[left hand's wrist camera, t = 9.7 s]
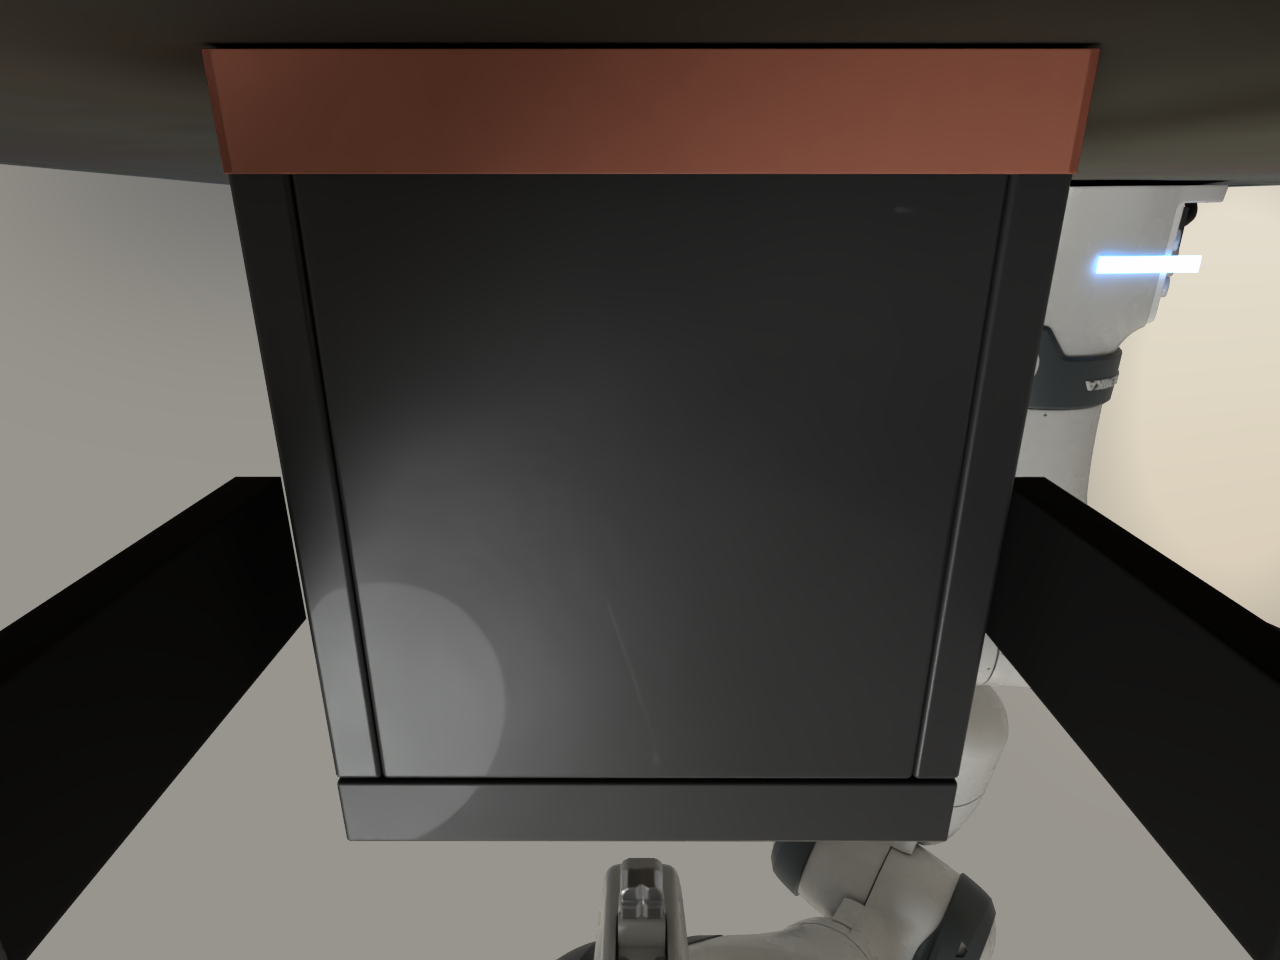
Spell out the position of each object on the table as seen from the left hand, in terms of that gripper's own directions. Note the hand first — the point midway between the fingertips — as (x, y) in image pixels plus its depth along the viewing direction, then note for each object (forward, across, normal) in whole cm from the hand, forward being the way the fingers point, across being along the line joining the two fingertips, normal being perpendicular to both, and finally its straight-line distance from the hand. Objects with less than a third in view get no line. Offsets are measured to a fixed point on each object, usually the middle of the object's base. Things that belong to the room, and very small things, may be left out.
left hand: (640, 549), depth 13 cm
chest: (+4, 0, -7) cm, 8 cm away
